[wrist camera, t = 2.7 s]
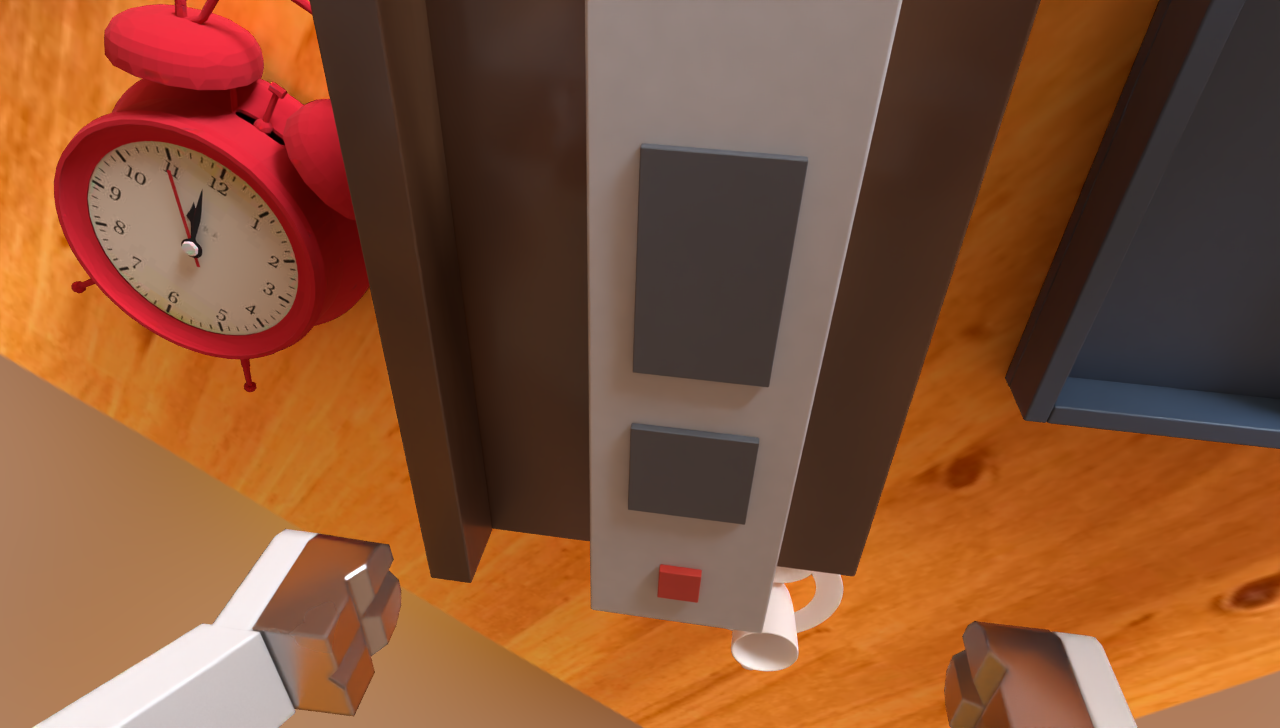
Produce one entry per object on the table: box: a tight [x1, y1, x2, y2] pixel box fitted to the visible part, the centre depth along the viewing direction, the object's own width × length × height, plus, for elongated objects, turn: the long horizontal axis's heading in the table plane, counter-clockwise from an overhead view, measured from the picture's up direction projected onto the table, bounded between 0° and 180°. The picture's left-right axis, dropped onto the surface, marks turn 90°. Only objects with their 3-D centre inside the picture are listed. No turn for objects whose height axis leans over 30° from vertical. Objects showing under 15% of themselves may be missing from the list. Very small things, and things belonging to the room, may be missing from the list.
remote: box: [585, 0, 902, 633], centre depth 15 cm, size 15×4×3 cm, turn 178°
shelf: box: [309, 0, 1041, 583], centre depth 20 cm, size 12×17×12 cm
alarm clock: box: [54, 0, 370, 392], centre depth 26 cm, size 10×6×15 cm
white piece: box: [729, 566, 843, 671], centre depth 36 cm, size 9×8×4 cm
